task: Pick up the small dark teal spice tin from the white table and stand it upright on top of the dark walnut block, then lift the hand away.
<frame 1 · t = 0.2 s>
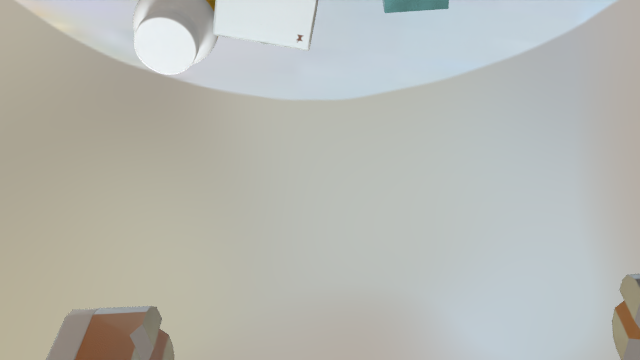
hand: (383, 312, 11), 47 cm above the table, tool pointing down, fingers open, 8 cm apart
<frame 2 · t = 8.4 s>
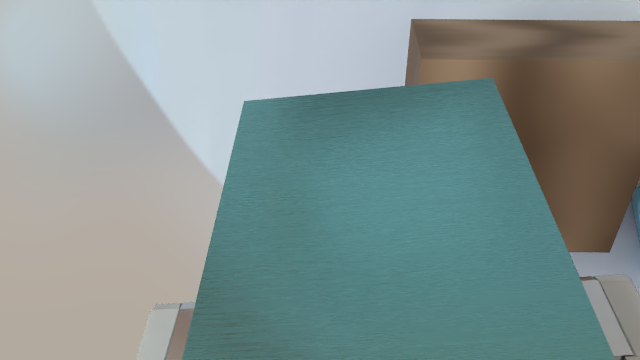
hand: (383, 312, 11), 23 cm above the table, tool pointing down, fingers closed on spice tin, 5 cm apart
walnut block: (504, 116, 35), on the table
spice tin: (374, 187, 14), point 19 cm above the table, touching gripper
when the fingers open (10 cm above the table, at t = 11.9 s): spice tin drops 2 cm, resting on walnut block.
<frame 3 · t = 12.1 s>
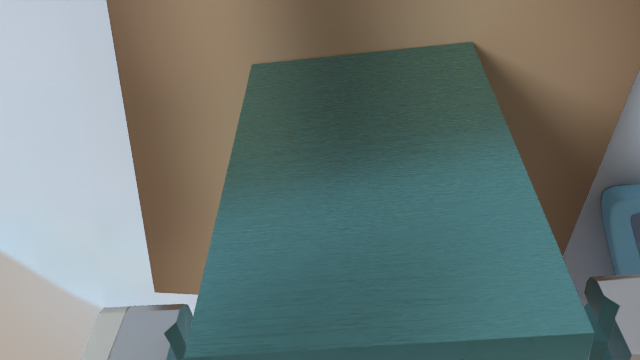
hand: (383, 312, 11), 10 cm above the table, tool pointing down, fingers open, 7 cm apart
walnut block: (360, 54, 19), on the table, touching spice tin
spice tin: (368, 144, 15), point 5 cm above the table, touching walnut block
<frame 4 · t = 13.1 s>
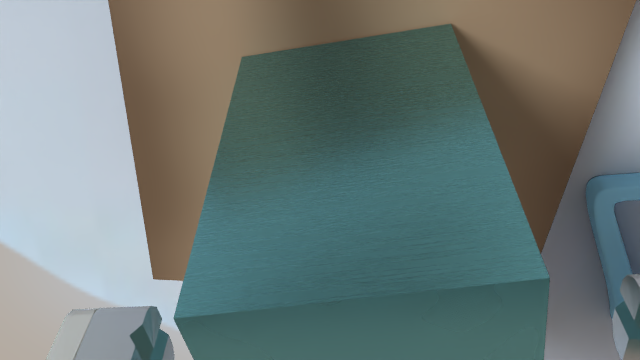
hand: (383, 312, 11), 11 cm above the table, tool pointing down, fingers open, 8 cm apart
walnut block: (351, 48, 20), on the table
spice tin: (358, 128, 16), point 5 cm above the table
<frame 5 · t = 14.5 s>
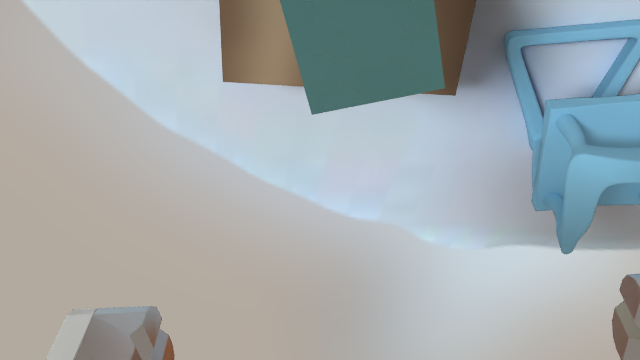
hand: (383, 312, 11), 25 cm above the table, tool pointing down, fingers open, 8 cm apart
chair: (563, 88, 36), on the table
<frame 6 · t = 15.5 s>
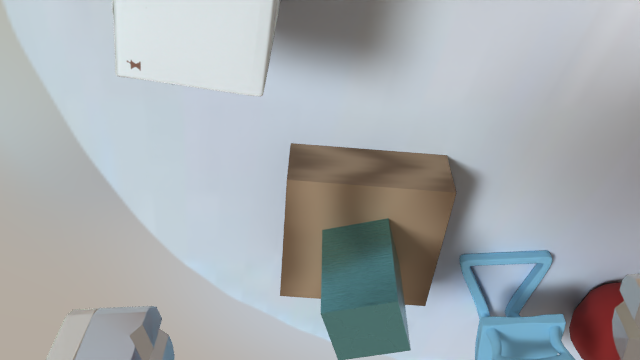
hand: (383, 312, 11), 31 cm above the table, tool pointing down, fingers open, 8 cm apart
tomato: (606, 300, 56), on the table
walnut block: (359, 206, 50), on the table, touching spice tin
spice tin: (361, 248, 46), point 5 cm above the table, touching walnut block
chair: (499, 283, 55), on the table
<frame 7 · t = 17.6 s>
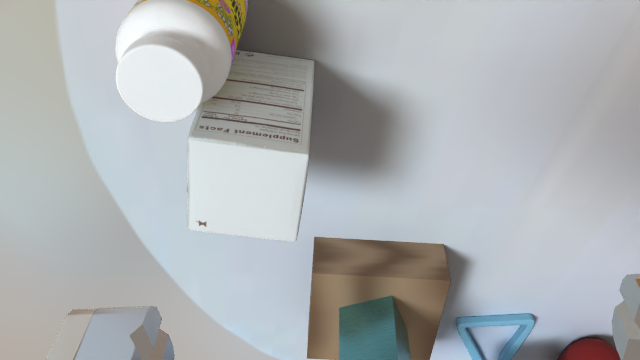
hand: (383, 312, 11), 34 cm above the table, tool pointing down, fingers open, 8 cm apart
tomato: (583, 350, 66), on the table
walnut block: (371, 282, 60), on the table, touching spice tin
spice tin: (373, 318, 56), point 5 cm above the table, touching walnut block
chair: (491, 338, 65), on the table
supplement box: (264, 92, 47), on the table
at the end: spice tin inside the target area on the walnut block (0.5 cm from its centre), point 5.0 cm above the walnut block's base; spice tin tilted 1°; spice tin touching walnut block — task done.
